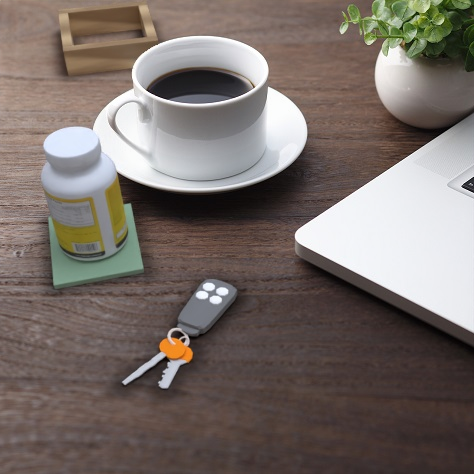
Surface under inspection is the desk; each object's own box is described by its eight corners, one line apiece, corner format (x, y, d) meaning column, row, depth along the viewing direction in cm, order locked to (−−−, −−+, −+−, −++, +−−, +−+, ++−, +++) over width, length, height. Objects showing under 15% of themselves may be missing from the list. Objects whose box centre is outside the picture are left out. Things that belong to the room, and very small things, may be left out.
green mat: (49, 221, 81) (47, 216, 81) (131, 207, 84) (130, 202, 83) (54, 290, 74) (53, 285, 74) (144, 273, 77) (143, 268, 76)
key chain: (204, 284, 76) (203, 272, 75) (240, 296, 75) (239, 284, 74) (121, 385, 67) (118, 374, 66) (160, 401, 66) (158, 389, 65)
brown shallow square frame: (62, 34, 110) (57, 9, 108) (149, 24, 113) (146, 0, 111) (68, 76, 102) (63, 51, 100) (161, 65, 105) (158, 40, 103)
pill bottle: (122, 213, 82) (103, 114, 74) (135, 254, 77) (117, 153, 70) (54, 228, 80) (27, 128, 72) (64, 271, 75) (37, 169, 68)
